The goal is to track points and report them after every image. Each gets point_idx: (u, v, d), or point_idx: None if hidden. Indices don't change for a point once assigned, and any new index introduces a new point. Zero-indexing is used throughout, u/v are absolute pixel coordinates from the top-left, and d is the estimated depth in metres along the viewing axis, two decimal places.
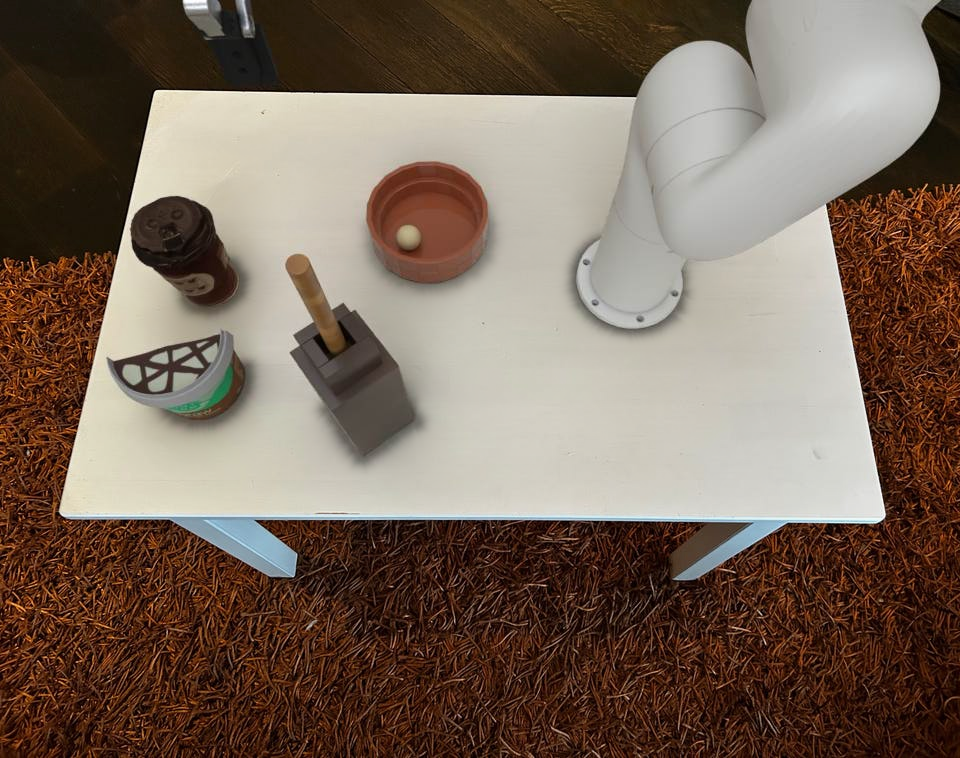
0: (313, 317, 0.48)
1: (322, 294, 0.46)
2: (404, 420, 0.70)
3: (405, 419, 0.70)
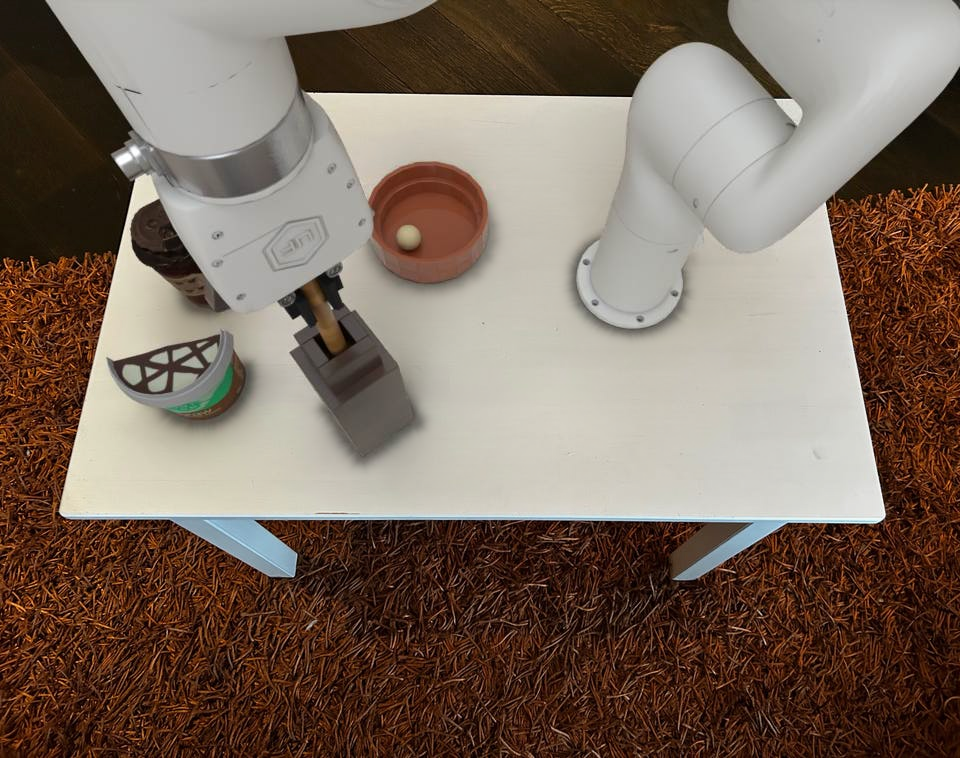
0: None
1: (322, 294, 0.46)
2: (404, 420, 0.70)
3: (405, 419, 0.70)
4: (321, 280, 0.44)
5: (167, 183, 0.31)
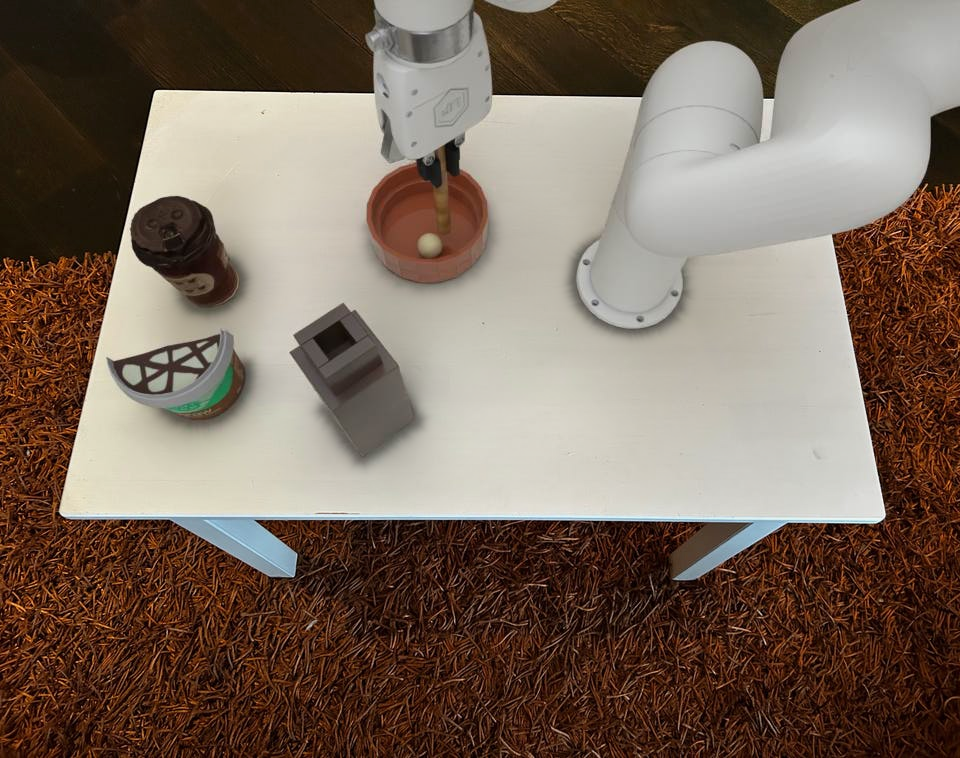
0: None
1: None
2: (404, 420, 0.70)
3: (405, 419, 0.70)
4: (449, 149, 0.64)
5: (388, 57, 0.51)
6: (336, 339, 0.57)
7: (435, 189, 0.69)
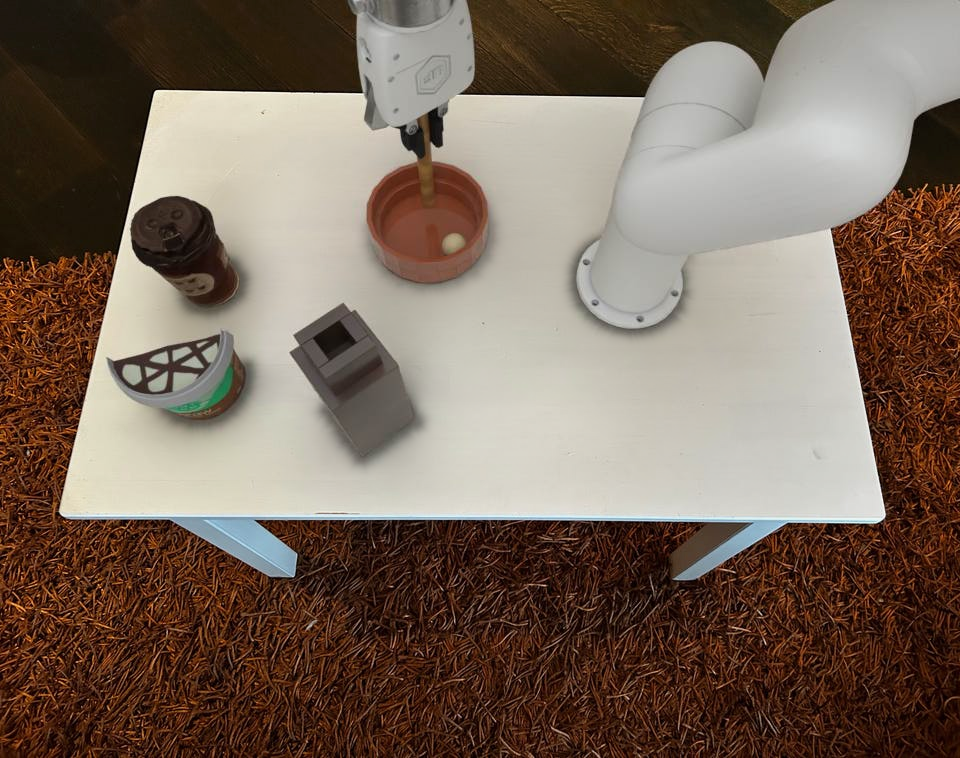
0: None
1: (429, 133, 0.67)
2: (404, 420, 0.70)
3: (405, 419, 0.70)
4: (433, 119, 0.65)
5: (371, 21, 0.52)
6: (336, 339, 0.57)
7: (419, 160, 0.70)
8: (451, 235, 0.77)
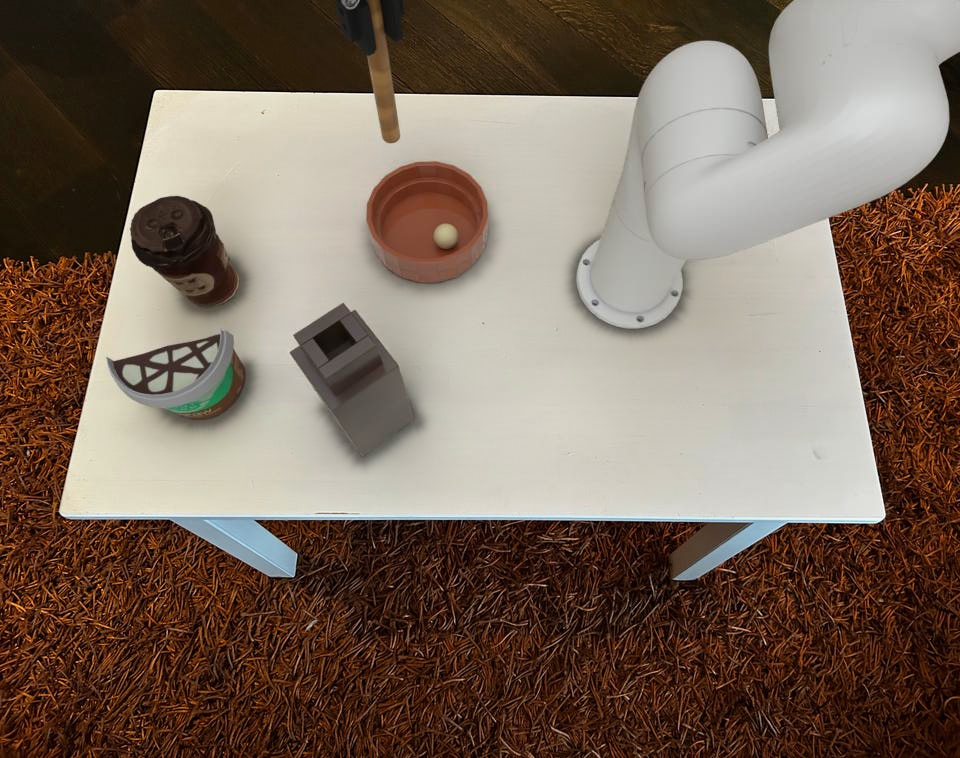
0: None
1: (382, 15, 0.45)
2: (404, 420, 0.70)
3: (405, 419, 0.70)
4: None
5: None
6: (336, 339, 0.57)
7: (370, 63, 0.49)
8: None
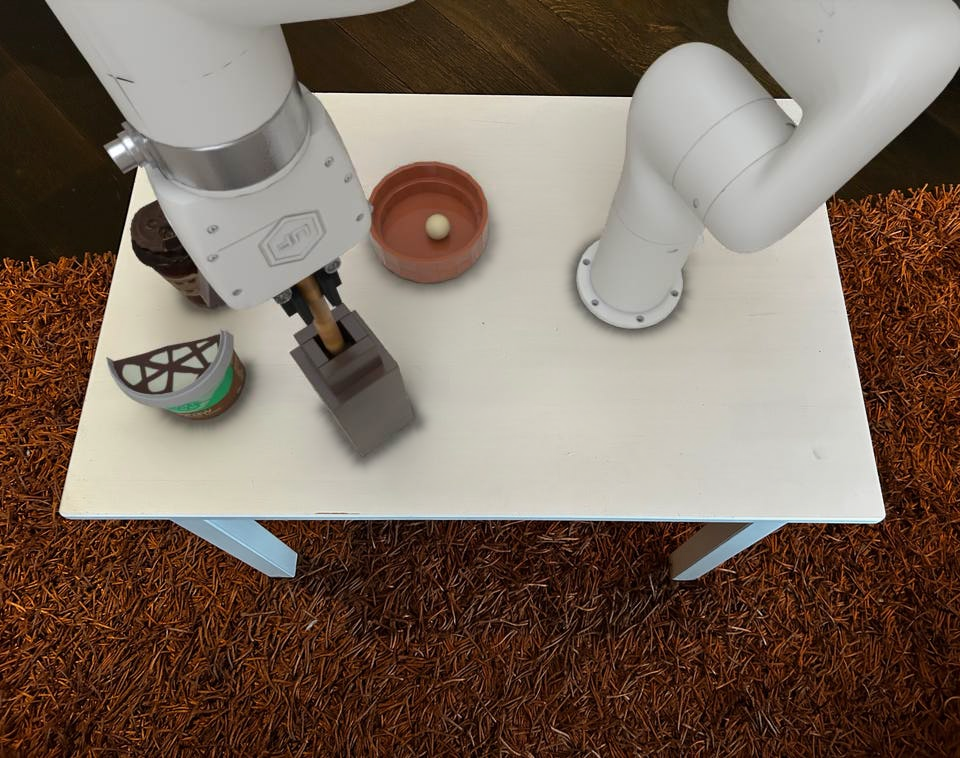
0: None
1: (319, 288, 0.46)
2: (404, 420, 0.70)
3: (405, 419, 0.70)
4: (319, 276, 0.43)
5: (161, 176, 0.30)
6: None
7: None
8: None
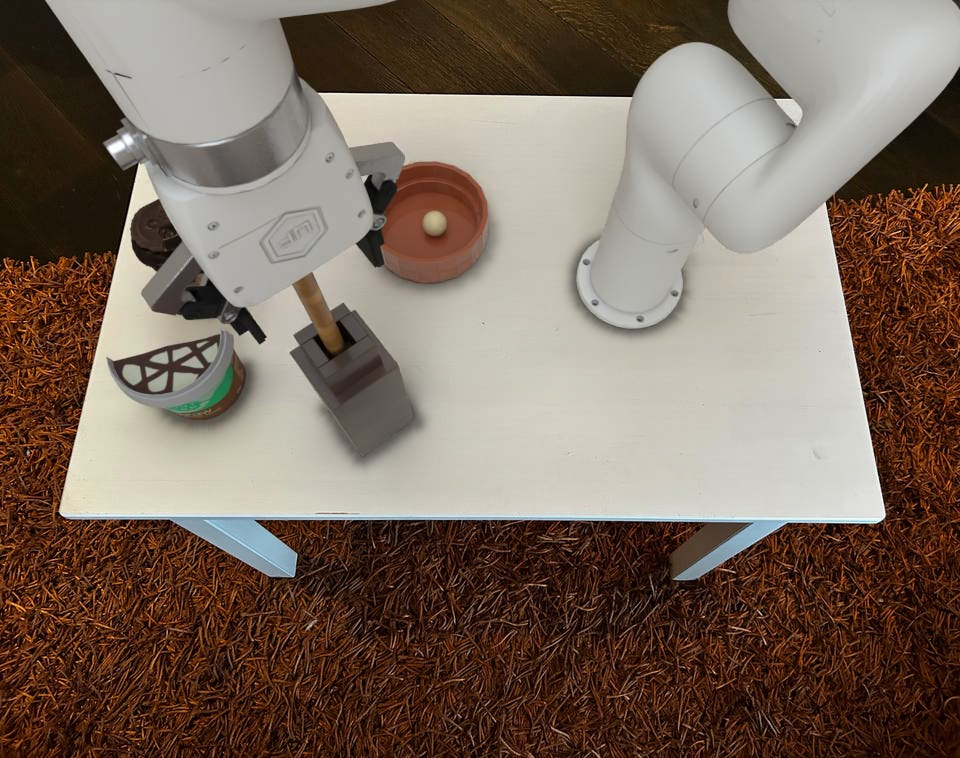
0: (312, 317, 0.48)
1: (320, 292, 0.46)
2: (404, 420, 0.70)
3: (405, 419, 0.70)
4: None
5: (161, 173, 0.30)
6: None
7: (312, 321, 0.49)
8: None
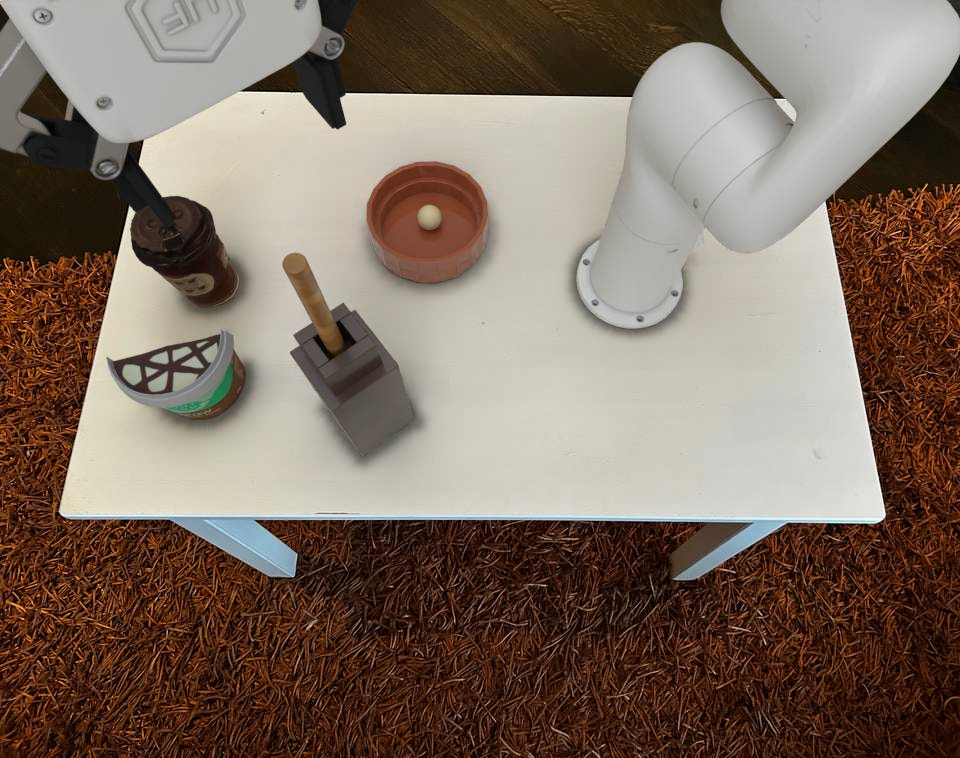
0: (312, 317, 0.48)
1: (320, 292, 0.46)
2: (404, 420, 0.70)
3: (405, 419, 0.70)
4: (313, 65, 0.30)
5: None
6: None
7: (312, 321, 0.49)
8: None
